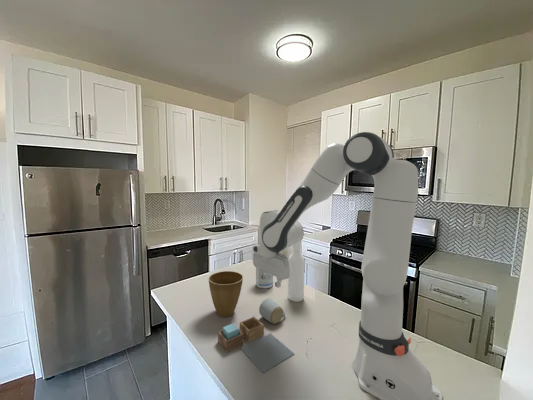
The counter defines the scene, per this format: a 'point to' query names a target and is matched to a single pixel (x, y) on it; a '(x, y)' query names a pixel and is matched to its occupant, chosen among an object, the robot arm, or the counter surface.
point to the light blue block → (230, 331)
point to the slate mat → (267, 352)
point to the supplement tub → (263, 283)
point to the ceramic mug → (271, 311)
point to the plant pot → (225, 291)
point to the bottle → (296, 275)
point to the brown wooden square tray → (230, 341)
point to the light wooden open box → (252, 328)
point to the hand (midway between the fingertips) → (270, 282)
